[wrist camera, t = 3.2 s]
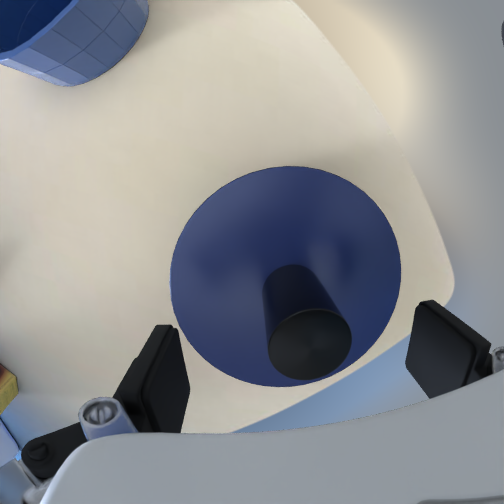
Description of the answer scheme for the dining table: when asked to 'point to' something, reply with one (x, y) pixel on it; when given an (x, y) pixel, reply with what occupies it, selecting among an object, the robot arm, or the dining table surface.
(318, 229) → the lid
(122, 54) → the pot
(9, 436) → the plastic bottle
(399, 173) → the dining table surface
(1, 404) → the candy box
